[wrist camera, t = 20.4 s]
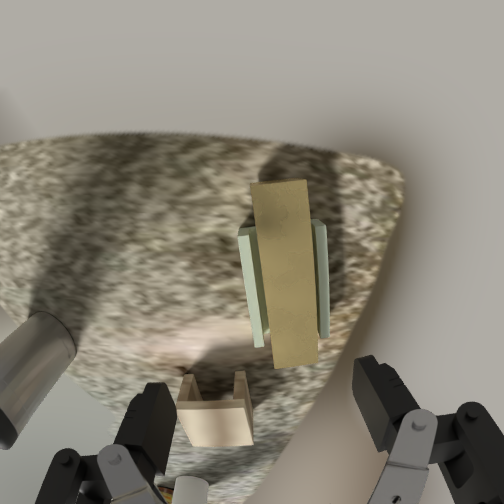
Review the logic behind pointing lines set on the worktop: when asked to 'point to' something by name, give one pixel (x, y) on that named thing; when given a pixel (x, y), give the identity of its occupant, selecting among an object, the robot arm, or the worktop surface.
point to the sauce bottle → (167, 494)
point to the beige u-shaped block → (216, 415)
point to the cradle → (256, 286)
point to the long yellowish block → (287, 269)
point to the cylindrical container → (190, 490)
